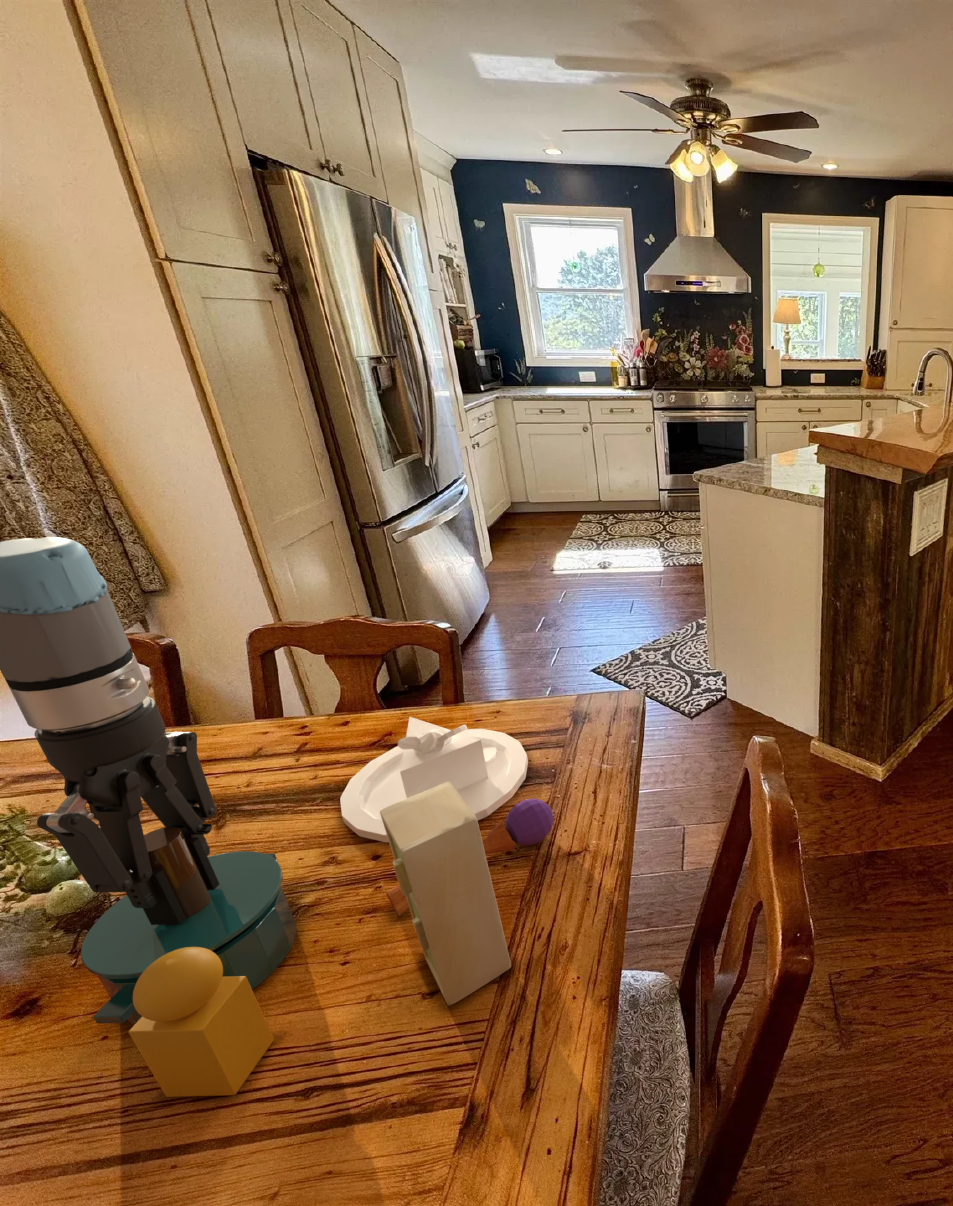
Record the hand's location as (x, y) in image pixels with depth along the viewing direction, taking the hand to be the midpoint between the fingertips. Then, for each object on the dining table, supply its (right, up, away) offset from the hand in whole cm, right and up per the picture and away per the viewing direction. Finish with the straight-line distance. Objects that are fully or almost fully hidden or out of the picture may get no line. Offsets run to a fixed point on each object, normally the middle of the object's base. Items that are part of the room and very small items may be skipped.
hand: (186, 903), depth 66 cm
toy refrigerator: (+27, -9, +4) cm, 28 cm away
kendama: (+22, -3, +17) cm, 28 cm away
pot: (0, -8, +3) cm, 9 cm away
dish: (+8, +3, +32) cm, 33 cm away
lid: (0, -1, 0) cm, 1 cm away
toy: (+9, -12, -6) cm, 17 cm away
